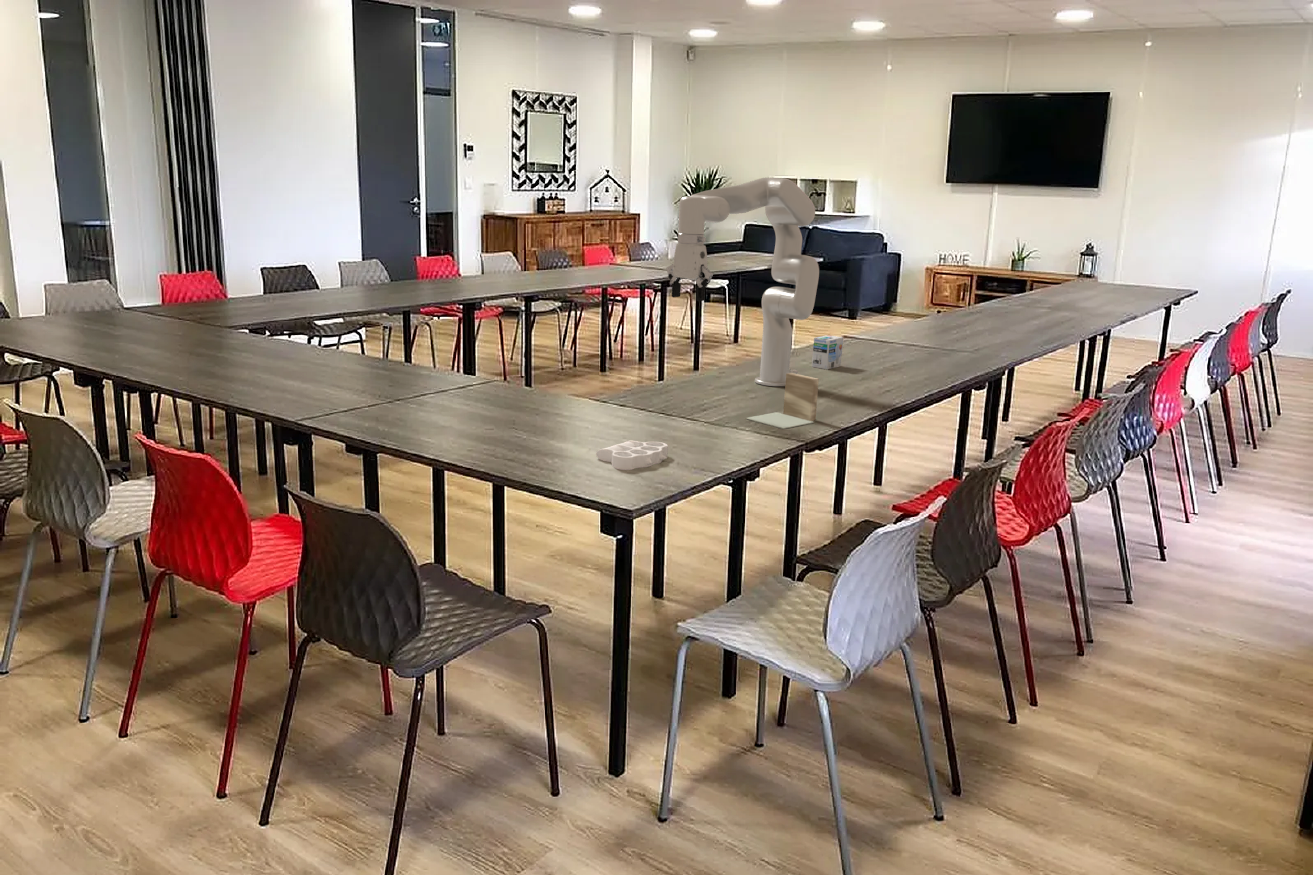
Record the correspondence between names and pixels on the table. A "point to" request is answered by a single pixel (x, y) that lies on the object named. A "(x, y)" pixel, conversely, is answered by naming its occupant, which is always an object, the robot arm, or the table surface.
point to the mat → (779, 420)
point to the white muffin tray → (634, 454)
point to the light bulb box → (827, 352)
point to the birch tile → (801, 396)
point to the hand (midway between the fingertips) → (688, 298)
